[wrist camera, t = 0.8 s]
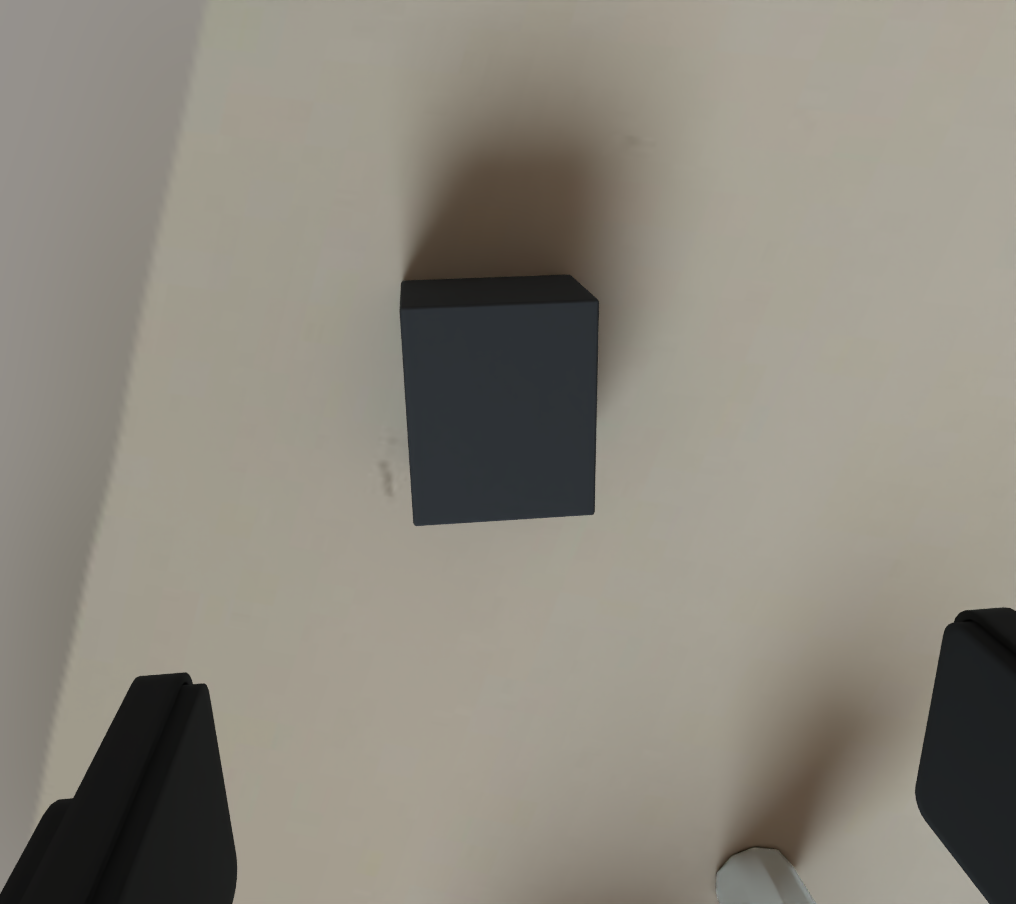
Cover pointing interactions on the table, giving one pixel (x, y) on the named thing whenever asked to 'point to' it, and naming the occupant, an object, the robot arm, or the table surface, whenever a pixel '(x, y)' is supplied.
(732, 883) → the milkshake
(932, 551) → the table surface
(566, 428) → the small dark rectangular block
